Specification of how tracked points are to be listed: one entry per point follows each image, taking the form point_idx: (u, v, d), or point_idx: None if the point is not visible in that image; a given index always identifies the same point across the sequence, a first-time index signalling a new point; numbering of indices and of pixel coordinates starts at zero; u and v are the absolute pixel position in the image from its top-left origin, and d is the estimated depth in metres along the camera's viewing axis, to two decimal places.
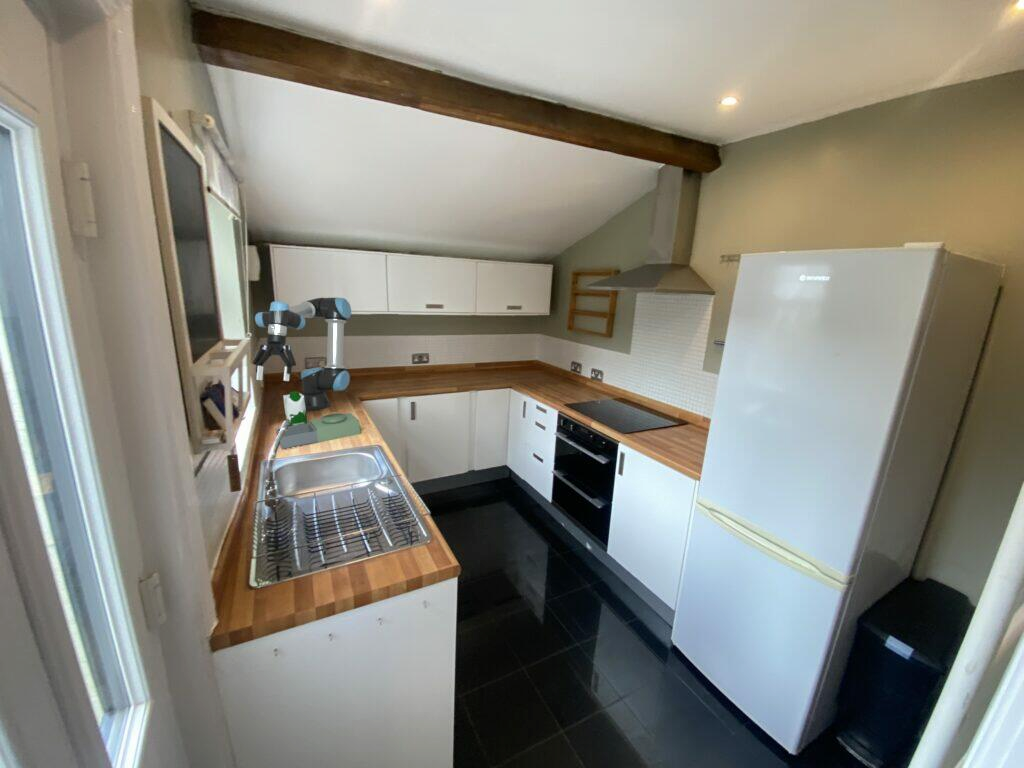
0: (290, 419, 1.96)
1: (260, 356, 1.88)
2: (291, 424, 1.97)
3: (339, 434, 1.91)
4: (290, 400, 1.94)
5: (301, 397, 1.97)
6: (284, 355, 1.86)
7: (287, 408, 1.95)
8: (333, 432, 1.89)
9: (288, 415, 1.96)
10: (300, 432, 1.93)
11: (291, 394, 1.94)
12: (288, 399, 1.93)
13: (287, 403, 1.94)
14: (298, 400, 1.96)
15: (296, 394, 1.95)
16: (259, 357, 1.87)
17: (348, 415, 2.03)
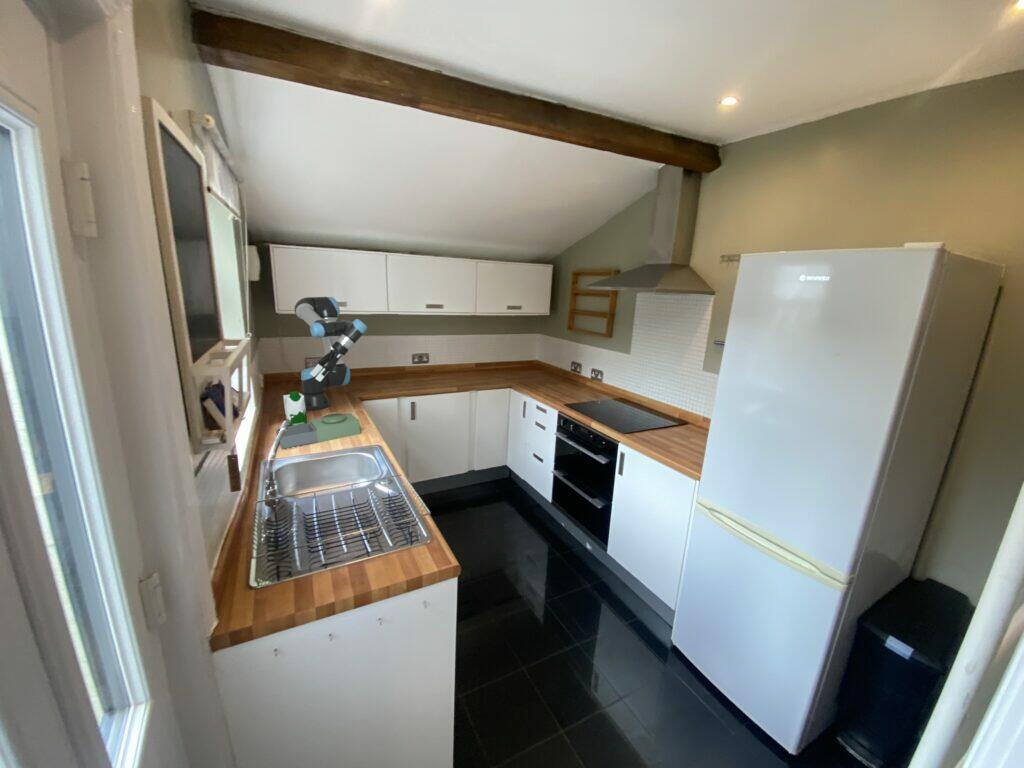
0: (290, 419, 1.96)
1: None
2: (291, 424, 1.97)
3: (339, 434, 1.91)
4: (290, 400, 1.94)
5: (301, 397, 1.97)
6: None
7: (287, 408, 1.95)
8: (333, 432, 1.89)
9: (288, 415, 1.96)
10: (300, 432, 1.93)
11: (291, 394, 1.94)
12: (288, 399, 1.93)
13: (287, 403, 1.94)
14: (298, 400, 1.96)
15: (296, 394, 1.95)
16: None
17: (348, 415, 2.03)
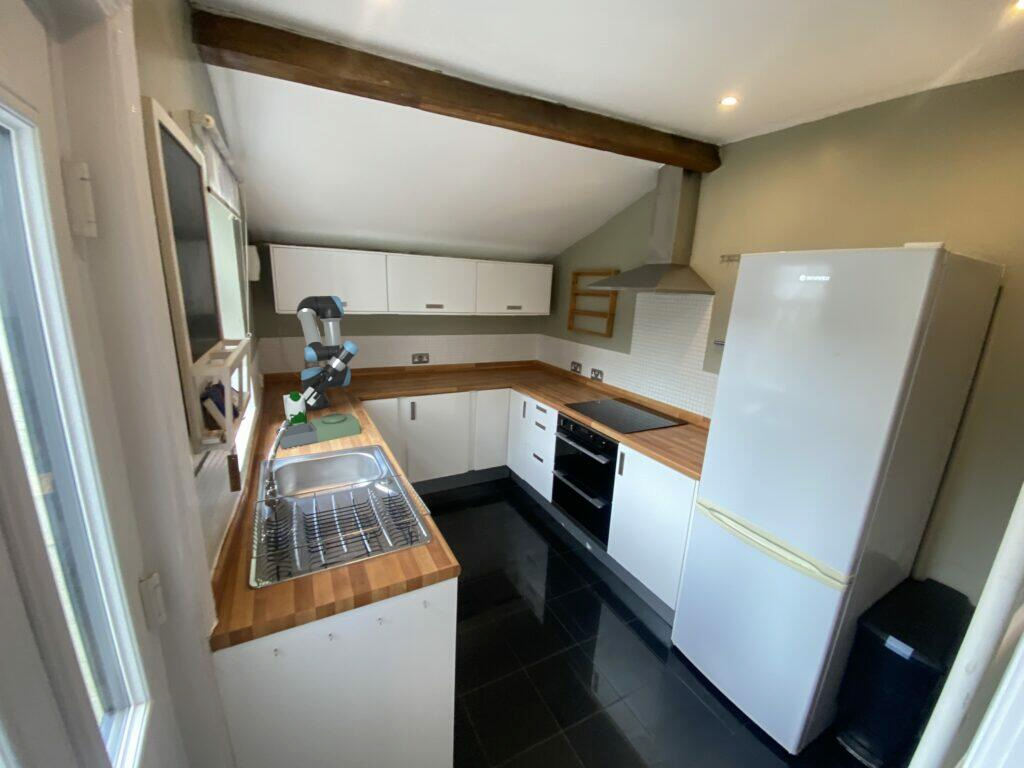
0: (290, 419, 1.96)
1: None
2: (291, 424, 1.97)
3: (339, 434, 1.91)
4: (290, 400, 1.94)
5: (301, 397, 1.97)
6: None
7: (287, 408, 1.95)
8: (333, 432, 1.89)
9: (288, 415, 1.96)
10: (300, 432, 1.93)
11: (291, 394, 1.94)
12: (288, 399, 1.93)
13: (287, 403, 1.94)
14: (298, 400, 1.96)
15: (296, 394, 1.95)
16: None
17: (348, 415, 2.03)
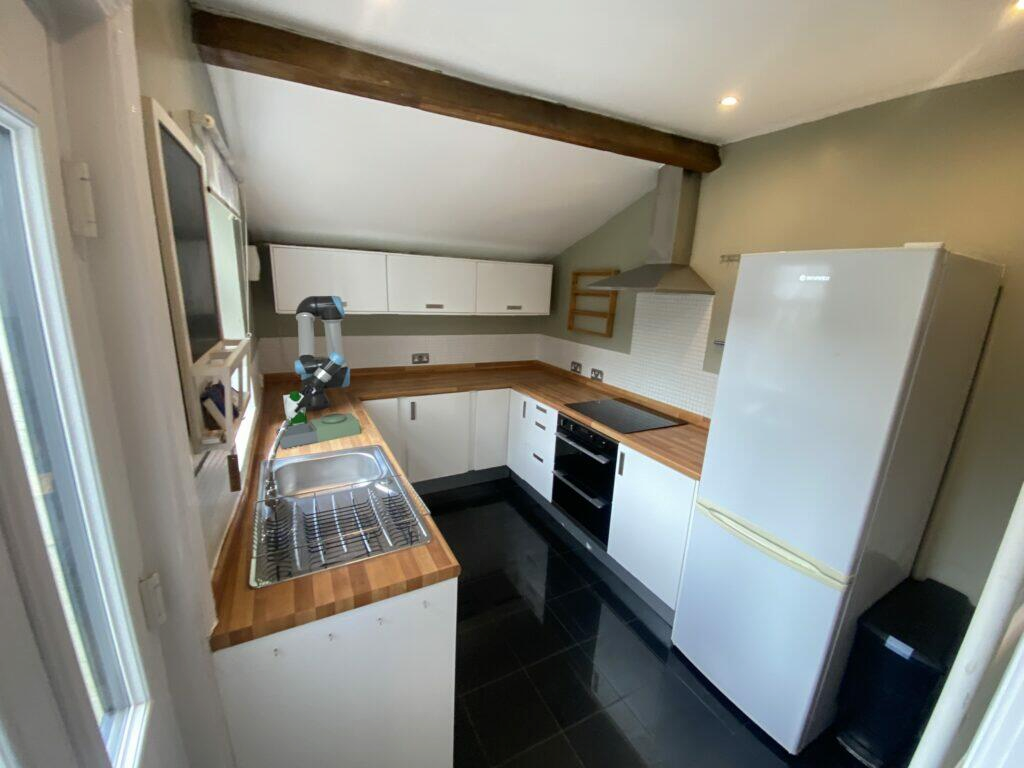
0: (290, 419, 1.96)
1: None
2: (291, 424, 1.97)
3: (339, 434, 1.91)
4: (290, 400, 1.94)
5: (301, 397, 1.97)
6: None
7: (287, 408, 1.95)
8: (333, 432, 1.89)
9: None
10: (300, 432, 1.93)
11: (291, 394, 1.94)
12: (288, 399, 1.93)
13: (287, 403, 1.94)
14: (298, 400, 1.96)
15: (296, 394, 1.95)
16: None
17: (348, 415, 2.03)
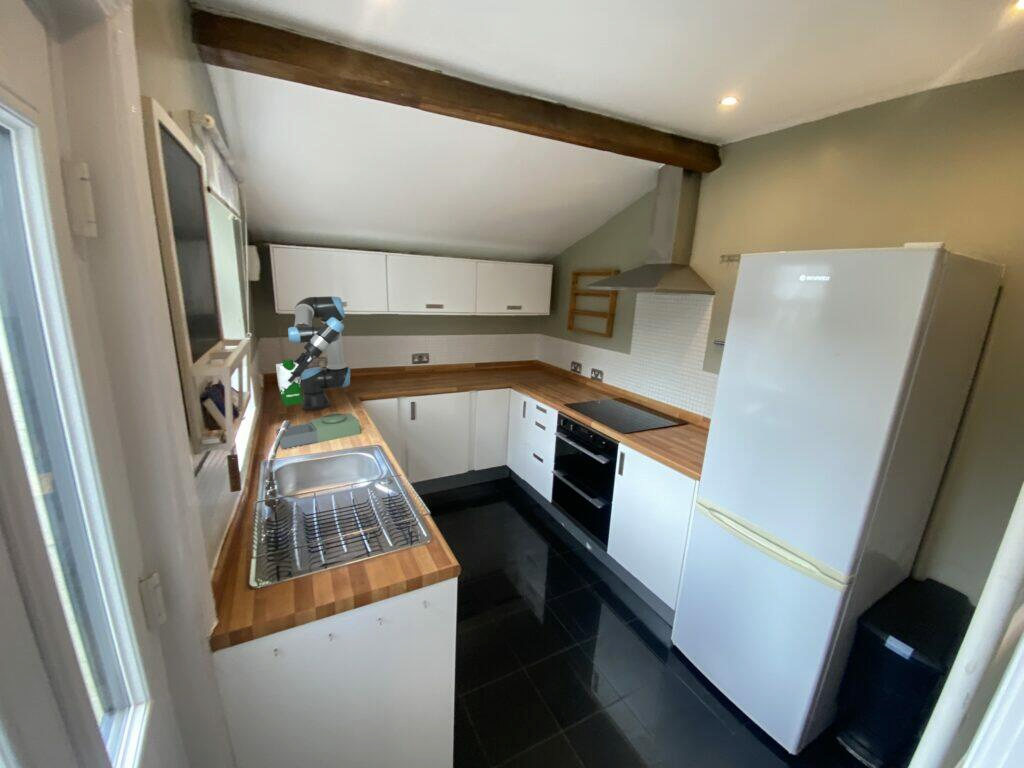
0: (283, 390, 1.77)
1: None
2: (284, 395, 1.78)
3: (339, 434, 1.91)
4: (283, 368, 1.75)
5: (295, 366, 1.78)
6: None
7: (280, 377, 1.76)
8: (333, 432, 1.89)
9: (281, 386, 1.77)
10: (300, 432, 1.93)
11: (284, 362, 1.75)
12: (281, 367, 1.74)
13: (280, 372, 1.75)
14: (292, 369, 1.77)
15: (290, 362, 1.76)
16: None
17: (348, 415, 2.03)
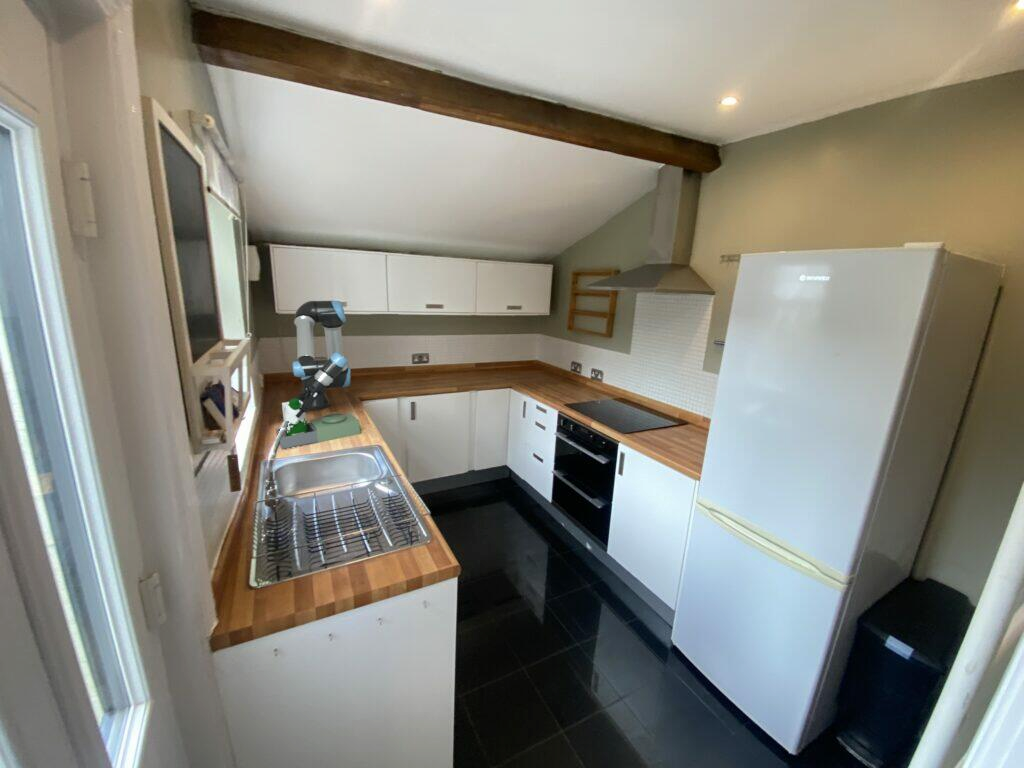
0: (289, 429, 1.81)
1: None
2: (290, 434, 1.81)
3: (339, 434, 1.91)
4: (289, 408, 1.78)
5: (301, 405, 1.81)
6: None
7: (286, 417, 1.79)
8: (333, 432, 1.89)
9: None
10: None
11: (290, 402, 1.79)
12: (287, 407, 1.78)
13: (286, 412, 1.78)
14: None
15: (296, 402, 1.80)
16: None
17: (348, 415, 2.03)
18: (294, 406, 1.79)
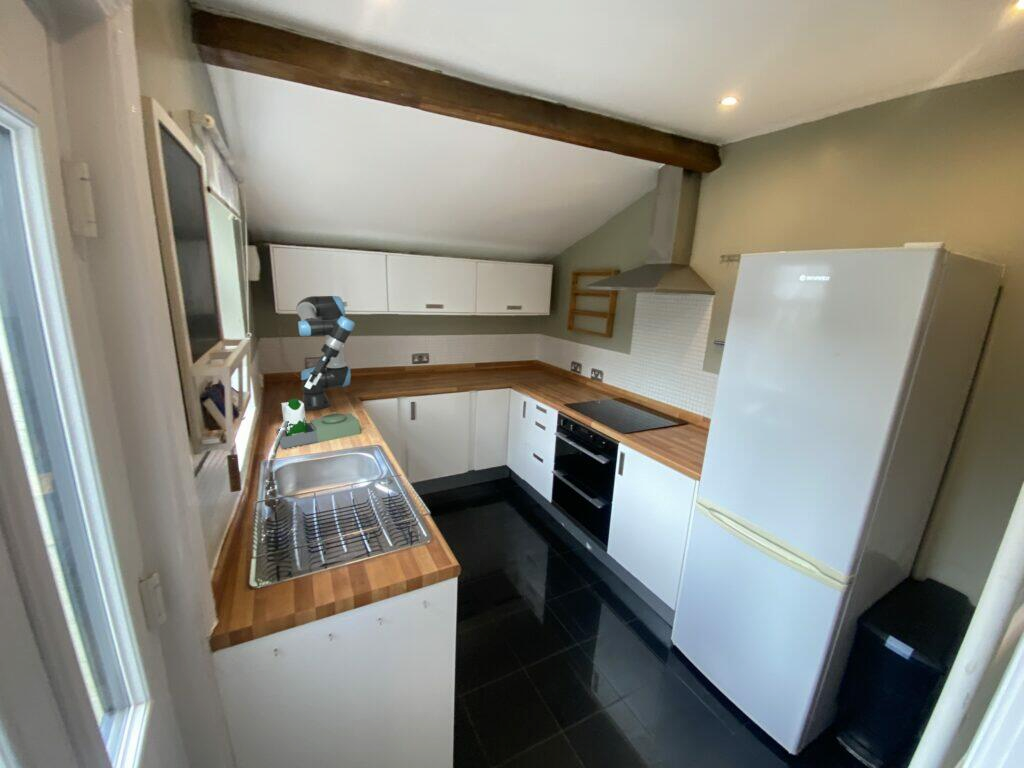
0: (289, 429, 1.81)
1: None
2: (290, 434, 1.81)
3: (339, 434, 1.91)
4: (289, 408, 1.78)
5: (301, 405, 1.81)
6: None
7: (286, 417, 1.80)
8: (333, 432, 1.89)
9: None
10: None
11: (290, 402, 1.79)
12: (287, 407, 1.78)
13: (286, 412, 1.79)
14: (298, 408, 1.81)
15: (295, 402, 1.80)
16: None
17: (348, 415, 2.03)
18: (294, 406, 1.79)
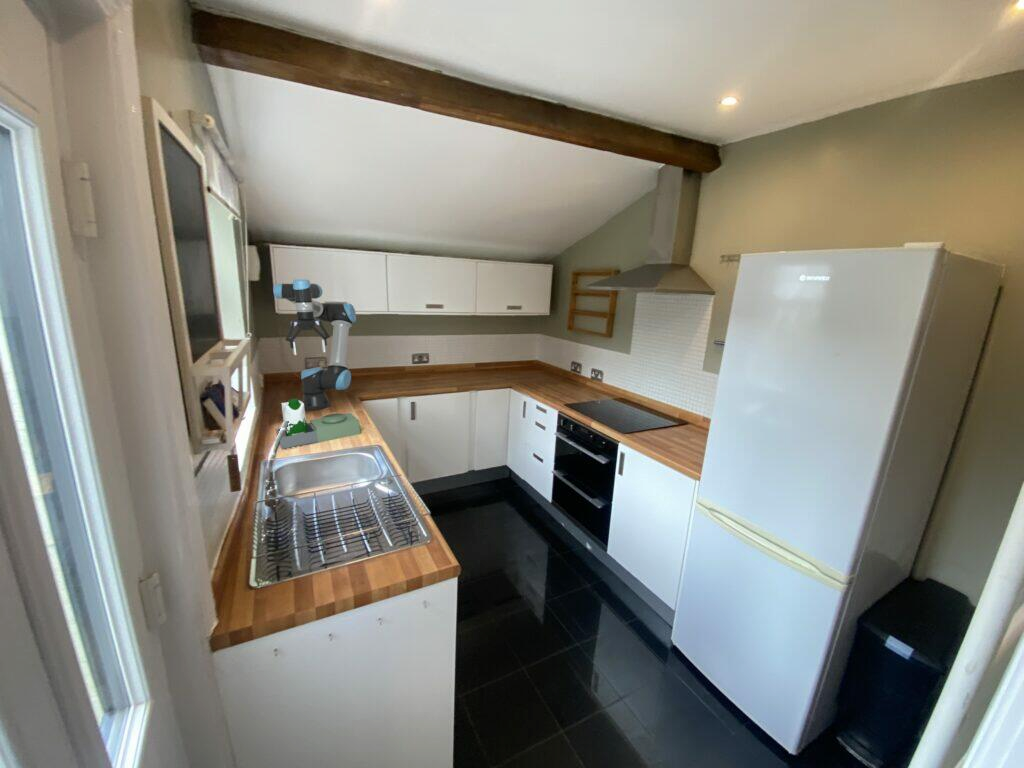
0: (289, 429, 1.81)
1: (291, 332, 1.99)
2: (290, 434, 1.81)
3: (339, 434, 1.91)
4: (289, 408, 1.78)
5: (301, 405, 1.81)
6: None
7: (286, 417, 1.80)
8: (333, 432, 1.89)
9: None
10: None
11: (290, 402, 1.79)
12: (287, 407, 1.78)
13: (286, 412, 1.79)
14: (298, 408, 1.81)
15: (295, 402, 1.80)
16: (290, 333, 1.99)
17: (348, 415, 2.03)
18: (294, 406, 1.79)
